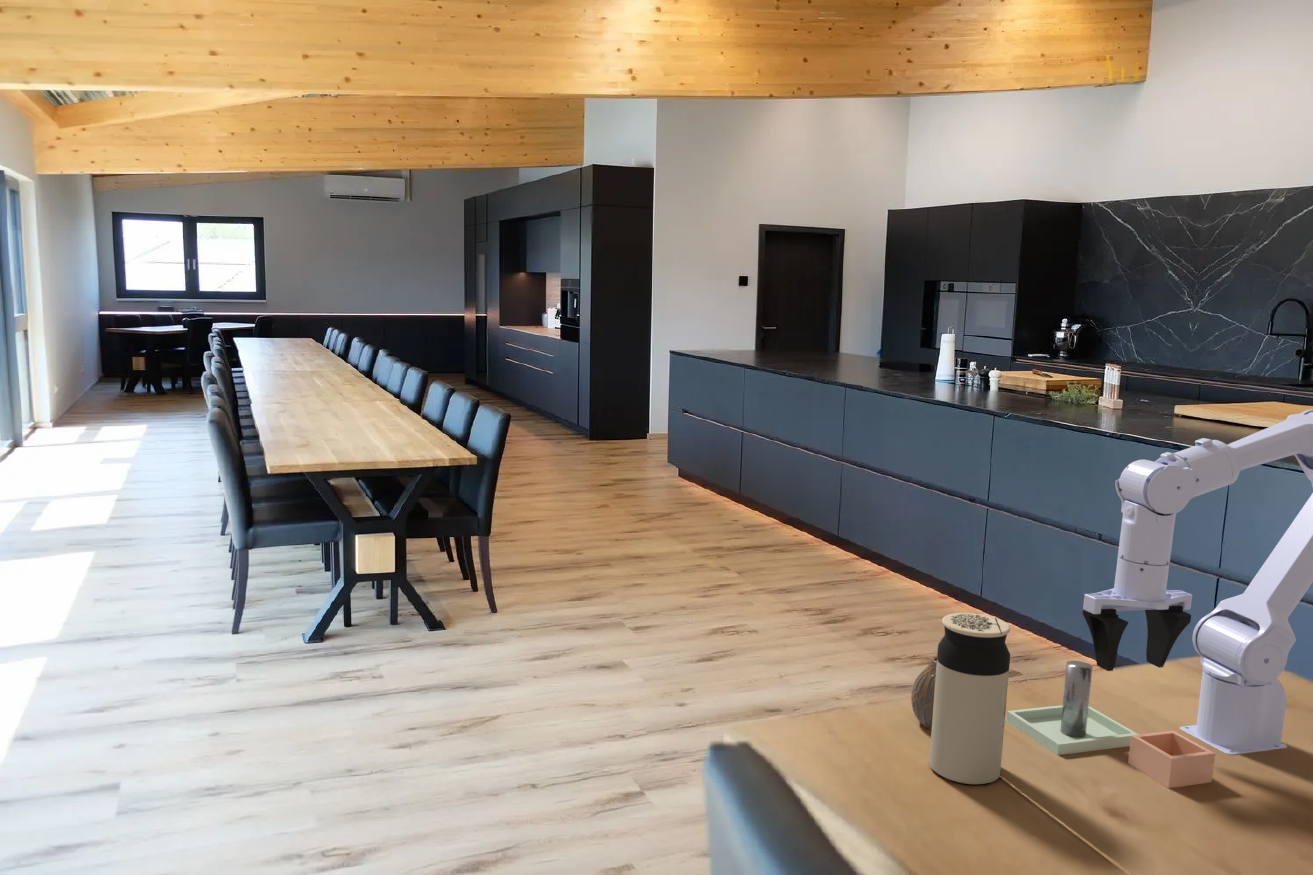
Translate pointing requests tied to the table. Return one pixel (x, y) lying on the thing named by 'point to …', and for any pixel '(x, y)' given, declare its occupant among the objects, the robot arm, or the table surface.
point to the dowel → (1076, 699)
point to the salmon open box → (1171, 759)
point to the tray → (1047, 732)
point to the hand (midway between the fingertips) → (1130, 666)
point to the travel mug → (970, 699)
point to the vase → (924, 694)
